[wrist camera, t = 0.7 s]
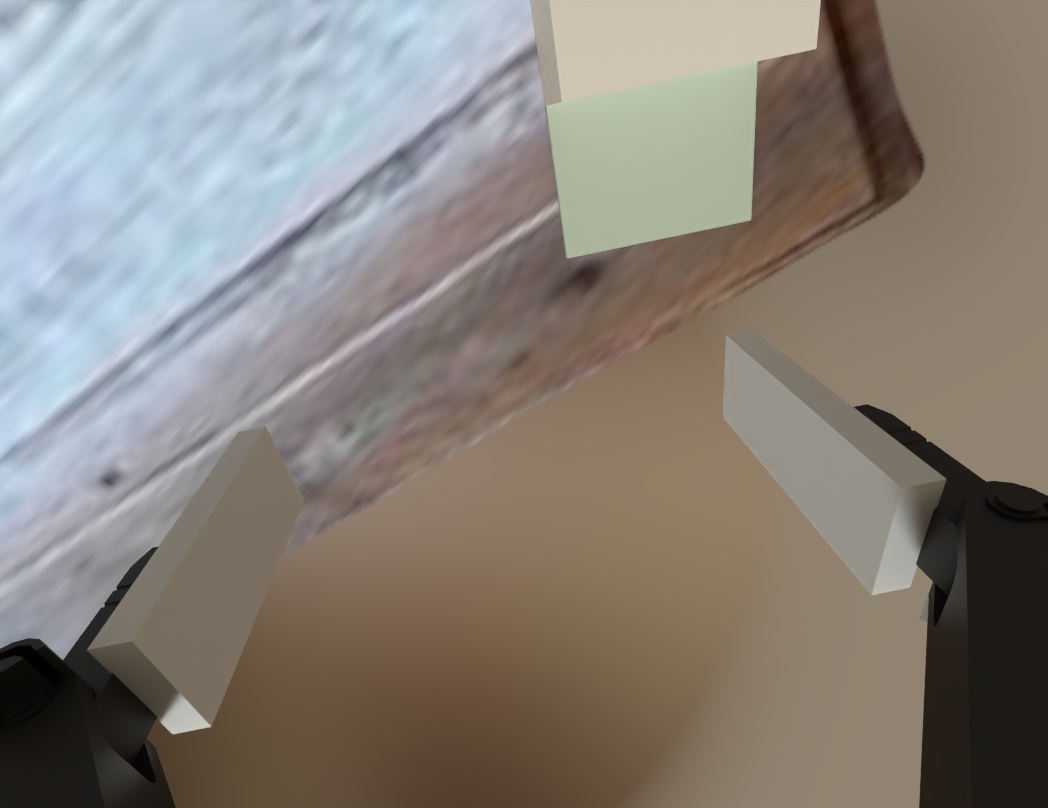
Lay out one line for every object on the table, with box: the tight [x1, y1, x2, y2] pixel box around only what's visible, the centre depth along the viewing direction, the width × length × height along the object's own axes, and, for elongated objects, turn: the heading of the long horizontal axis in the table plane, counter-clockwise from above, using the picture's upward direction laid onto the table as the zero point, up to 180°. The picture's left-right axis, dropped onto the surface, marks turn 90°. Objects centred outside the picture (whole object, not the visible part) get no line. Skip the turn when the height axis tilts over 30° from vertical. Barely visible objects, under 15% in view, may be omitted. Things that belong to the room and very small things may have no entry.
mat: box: [545, 62, 757, 258], centre depth 36 cm, size 10×14×1 cm
